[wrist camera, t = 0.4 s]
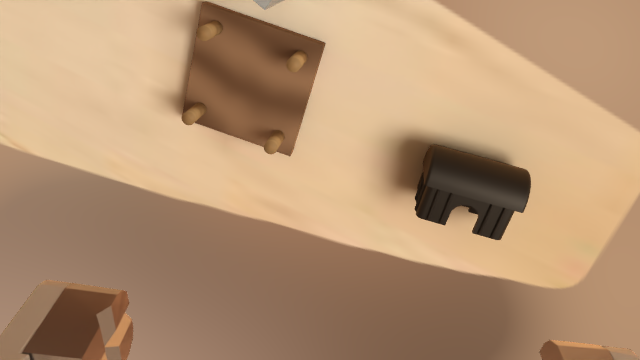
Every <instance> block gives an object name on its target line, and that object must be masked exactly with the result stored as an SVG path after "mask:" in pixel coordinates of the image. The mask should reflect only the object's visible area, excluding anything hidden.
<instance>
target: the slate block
mask: <svg viewBox="0 0 640 360" xmlns="http://www.w3.org/2000/svg"><path fill="white" fill-rule="evenodd" d="M253 1H255V2H256V3H257V4H258V5H259V6H260V7H262V8H263V9H264V10H266V9H268V8H270V7H272V6H274V5H276V4H278V3H280V2H281V1H283V0H253Z"/></svg>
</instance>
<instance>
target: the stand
mask: <svg viewBox="0 0 640 360" xmlns="http://www.w3.org/2000/svg"><path fill="white" fill-rule="evenodd" d="M196 33H197V35H196V41H195V46H194V52H193V58H192V64H191V69H190V75H189V81H188V86H187V92H186V98H185V103H184V109H183V115H182V121H183V122H184V123H185V124H186V125H192V124H193V123H194V122H195V123H197V124H200V125H203V126H206V127H209V128H212V129H214V130H217V131H220V132H223V133H226V134H229V135H231V136H234V137H237V138H240V139H243V140H246V141H248V142H251V143H254V144H257V145H260V146H262V147H264V150H265V151H266V152H267V153H268V154H274V153H275V152H276V151H277V152H279V153H282V154H285V155H288V156H291V154H292V152H293V149H294V146H295V142H296V139H297V136H298V132H299V129H300V126H301V122H302V119H303V116H304V113H305V109H306V106H307V103H308V99H309V96H310V93H311V90H312V86H313V83H314V80H315V76H316V73H317V70H318V66H319V63H320V60H321V57H322V53H323V50H324V47H325V43H324V42H321V41H318V40H316V39H313V38H310V37H307V36H304V35H301V34H298V33H295V32H293V31H290V30H287V29H284V28H281V27H278V26H275V25H273V24H270V23H267V22H264V21H261V20H258V19H255V18H253V17H250V16H247V15H244V14H241V13H238V12H235V11H232V10H230V9H227V8H224V7H221V6H218V5H215V4H212V3H210V2H207V1H206V2H203V3H202V7H201V12H200V18H199V24H198V29H197V32H196Z"/></svg>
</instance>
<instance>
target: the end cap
mask: <svg viewBox="0 0 640 360" xmlns="http://www.w3.org/2000/svg"><path fill="white" fill-rule="evenodd" d="M530 188H531V178H530V174H529V172H528V171H527V170H525V169H523V168H519V167H515V166H512V165H508V164H504V163H501V162H497V161H493V160H490V159H486V158H483V157H479V156H475V155H472V154H468V153H464V152H461V151H457V150H453V149H450V148H446V147H443V146H439V145H435V144H433V145H431V146H430V148H429V149H428V151H427V153H426V155H425V158H424V161H423V173H422V176H421V178H420V181H419V184H418V190H417V193H416V196H415V200H416V206H415V211H416V215H417V216H418V217H419V218H421V219H424V220H428V221H431V222H435V223H438V224H442V225H445V224H446V222H447V219H448V217H449V215H450V213H451V211H452V210H453V209H454V208H455V207H457V206H461V205H462V206H466V207H469V209H468V211H469V212H471V213H474V214H478V219H477V221H476V223H475V226H474V228H473V230H472V233H474V234H477V235H481V236H484V237H488V238H491V239H495V240H500V239H501V238H502V236H503V234H504V232H505V230H506V227H507V225H508V223H509V221H510V219H511V217H512V215H513V213H514V211H517V212H521V213H523V212H524V209H525V207H526V204H527V202H528V198H529V194H530Z"/></svg>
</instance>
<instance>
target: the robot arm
mask: <svg viewBox="0 0 640 360" xmlns="http://www.w3.org/2000/svg"><path fill="white" fill-rule="evenodd" d="M128 305H129V299H128V295H127V291H123V290H118V289H111V288H104V287H97V286H90V285H83V284H76V283H68V282H60V281H53V280H45V281H43V282H42V283H40V284H39V285H38V286H37V287H36V288H35V290H34V291H33V293H32V294H31V295H30V296H29V298H28V299H27V300H26V302H25V303H24V304H23V306H22V307H21V308H20V310H19V311H18V312H17V314H16V315H15V317H14V318H13V319H12V320H11V322H10V323H9V324H8V326H7V327H6V328H5V330H4V331H3V333H2V334H1V335H0V360H127V357H128V355H129V352H130V348H131V344H132V340H133V323H132V319H131V318H130V317H129V316H128V315H127V314H126V313H125V311H126V309H127V307H128ZM540 355H541V357H542V360H639V358H638V357H637V355H636V354H635V353H634V352H633V351H632V350H631V349H625V348H617V347H609V346H600V345H594V344H585V343H575V342H565V341H557V340H549V341H547V342H545V343H544V344H543V347H542V348H541V350H540Z"/></svg>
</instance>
